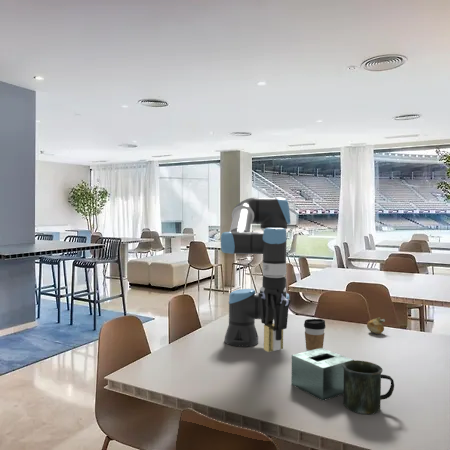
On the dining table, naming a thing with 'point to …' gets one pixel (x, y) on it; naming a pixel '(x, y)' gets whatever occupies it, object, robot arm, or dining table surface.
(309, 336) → the coffee cup
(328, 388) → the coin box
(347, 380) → the mug
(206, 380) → the dining table surface
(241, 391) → the dining table surface
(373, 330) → the onion
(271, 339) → the tan rectangular block
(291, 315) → the dining table surface
